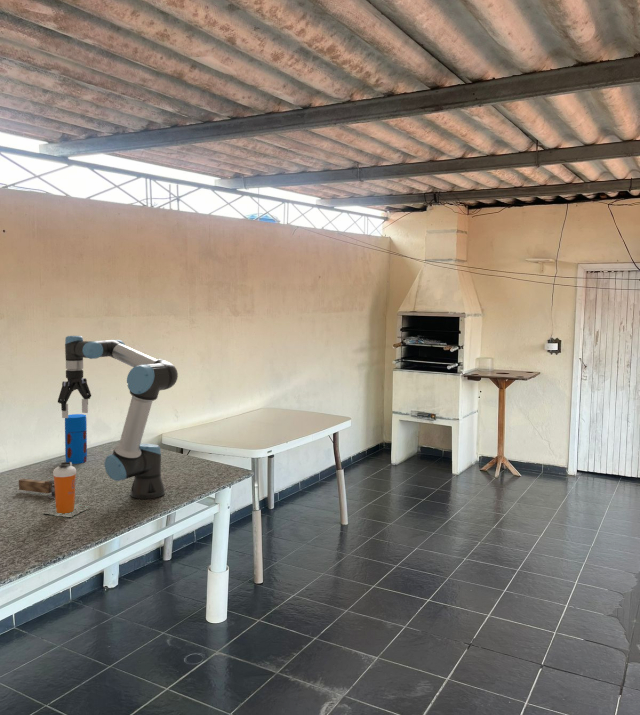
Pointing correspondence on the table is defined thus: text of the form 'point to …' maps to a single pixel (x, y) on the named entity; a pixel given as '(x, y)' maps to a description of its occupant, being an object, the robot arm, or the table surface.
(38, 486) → the bar
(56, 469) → the shaker bottle
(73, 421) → the thermos
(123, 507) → the table surface
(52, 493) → the grey curved piece
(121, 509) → the table surface
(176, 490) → the table surface
